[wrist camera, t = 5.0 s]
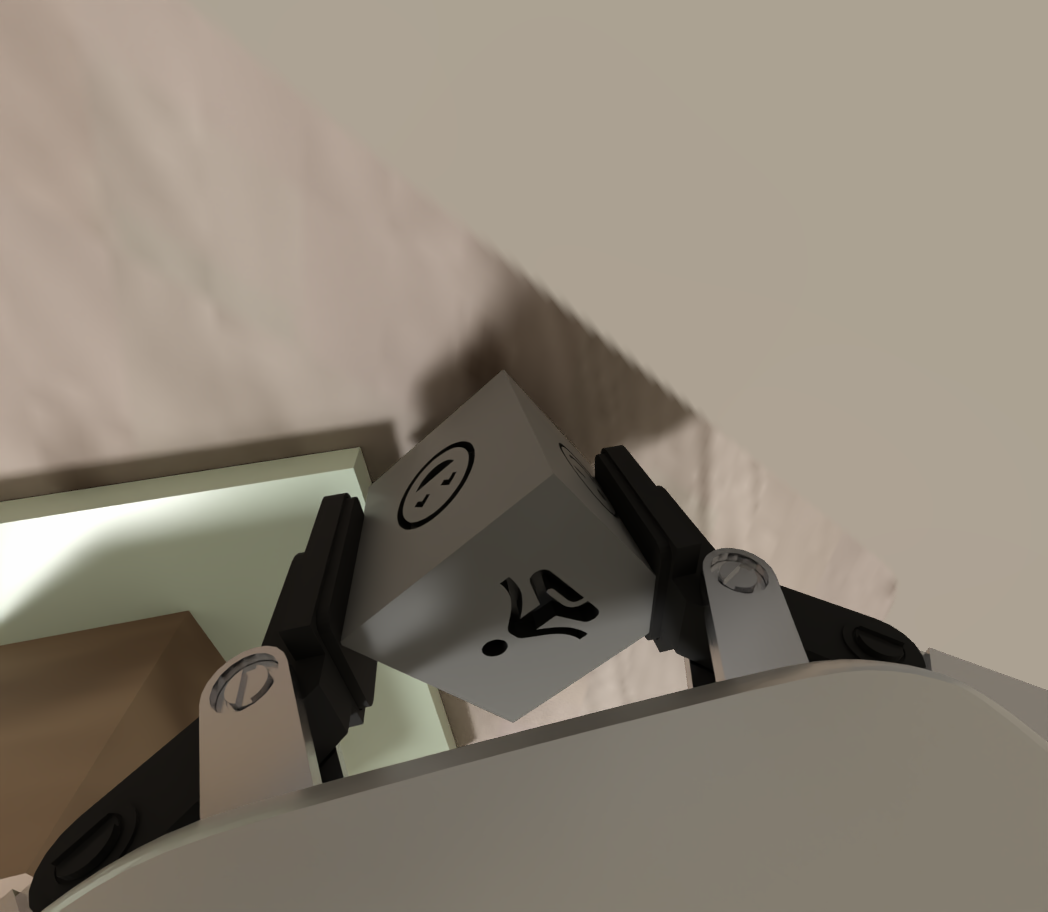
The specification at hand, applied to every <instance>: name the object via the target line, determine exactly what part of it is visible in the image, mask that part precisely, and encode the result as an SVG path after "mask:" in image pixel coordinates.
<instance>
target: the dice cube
mask: <svg viewBox="0 0 1048 912" xmlns="http://www.w3.org/2000/svg"><path fill="white" fill-rule="evenodd" d="M364 515H365V516H364V521H363V527H362V532H361V537H360V542H359V547H358V553H357V558H356V563H355V568H354V573H353V579H352V584H351V589H350V594H349V599H348V605H347V610H346V615H345V620H344V625H343V631H342V636H341V641H340V642H341V644H342V645H343V646H345V647H347V648H349V649H352V650H354V651H356V652H358V653H360V654H363V655H365V656H367V657H369V658H371V659H374V660H376V661H378V662H380V663H382V664H385V665H387V666H389V667H391V668H393V669H396V670H398V671H400V672H402V673H405V674H407V675H409V676H411V677H413V678H416V679H418V680H420V681H422V682H424V683H427V684H429V685H431V686H433V687H435V688H438V689H440V690H442V691H444V692H447V693H449V694H451V695H453V696H455V697H458V698H460V699H462V700H464V701H466V702H469V703H471V704H473V705H475V706H477V707H480V708H482V709H484V710H486V711H488V712H491V713H493V714H495V715H497V716H500V717H502V718H504V719H506V720H508V721H511V722H513V723H514V722H515V721H517V720H518V719H520V718H521V717H523V716H524V715H526V714H527V713H529V712H530V711H532V710H533V709H535V708H536V707H538V706H539V705H541V704H542V703H544V702H545V701H547V700H548V699H550V698H551V697H553V696H554V695H556V694H557V693H559V692H560V691H562V690H563V689H565V688H566V687H568V686H570V685H571V684H573V683H574V682H576V681H577V680H579V679H580V678H582V677H583V676H585V675H586V674H588V673H589V672H591V671H592V670H594V669H595V668H597V667H598V666H600V665H601V664H603V663H604V662H606V661H607V660H609V659H610V658H612V657H613V656H615V655H616V654H618V653H619V652H621V651H622V650H624V649H625V648H627V647H629V646H630V645H632V644H633V643H635V642H636V641H638V640H639V639H641V638H642V637H644V636H645V635H647V634H648V633H649V628H650V620H651V612H652V604H653V596H654V588H655V580H656V575H655V574H654V572H653V570H652V569H651V567H650V566H649V564H648V562H647V561H646V559H645V558H644V556H643V554H642V553H641V551H640V549H639V548H638V546H637V545H636V543H635V541H634V540H633V538H632V537H631V535H630V533H629V532H628V530H627V529H626V527H625V525H624V524H623V522H622V521H621V519H620V517H619V516H618V515H617V514H616V513H615V510H614V508H613V506H612V505H611V503H610V502H609V500H608V498H607V497H606V496H605V493H604V492H603V490H602V488H601V487H600V485H599V484H598V482H597V480H596V479H595V469H594V468H593V467H592V466H591V465H590V464H589V463H588V462H587V461H586V460H585V458H584V457H583V456H582V455H581V454H580V453H579V452H578V451H577V450H576V448H575V447H574V446H573V445H572V444H571V443H570V442H569V441H568V440H567V439H566V437H565V436H564V435H563V434H562V433H561V432H560V431H559V430H558V429H557V428H556V426H555V425H554V424H553V423H552V422H551V421H550V420H549V419H548V418H547V416H546V415H545V414H544V413H543V412H542V411H541V410H540V409H539V408H538V407H537V405H536V404H535V403H534V402H533V401H532V400H531V399H530V398H529V397H528V396H527V394H526V393H525V392H524V391H523V390H522V389H521V388H520V387H519V386H518V385H517V383H516V382H515V381H514V380H513V379H512V378H511V377H510V376H509V375H508V373H507V372H506V371H505V370H504V369H503V370H502V371H501V372H499V373H498V374H497V375H496V376H495V377H494V378H493V379H491V380H490V381H489V382H488V383H487V384H486V385H485V386H483V387H482V388H481V389H480V390H479V391H478V392H477V393H475V394H474V395H473V396H472V397H471V398H470V399H469V400H467V401H466V402H465V403H464V404H463V405H462V406H461V407H459V408H458V409H457V410H456V411H455V412H454V413H453V414H451V415H450V416H449V417H448V418H447V419H446V420H445V421H443V422H442V423H441V424H440V425H439V426H438V427H437V428H435V429H434V430H433V431H432V432H431V433H430V434H429V435H427V436H426V437H425V438H424V439H423V440H422V441H421V442H419V443H418V444H417V445H416V446H415V447H414V448H413V449H411V450H410V451H409V452H408V453H407V454H406V455H405V456H403V457H402V458H401V459H400V460H399V461H398V462H397V463H395V464H394V465H393V466H392V467H391V468H390V469H389V470H387V471H386V472H385V473H384V474H383V475H382V476H381V477H379V478H378V479H377V480H376V481H375V482H374V483H373V484H372V485H370V486H369V488H368V493H367V498H366V504H365V509H364Z"/></svg>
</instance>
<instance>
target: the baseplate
mask: <svg viewBox="0 0 1048 912" xmlns="http://www.w3.org/2000/svg"><path fill="white" fill-rule="evenodd" d="M370 485H372V482H371V479H370V476H369V473H368V470H367V467H366V464H365V461H364V457H363V454H362V451H361V448H360V447H357V448H350V449H344V450H337V451H331V452H324V453H317V454H311V455H304V456H298V457H291V458H285V459H278V460H272V461H265V462H259V463H252V464H245V465H239V466H232V467H226V468H219V469H213V470H206V471H200V472H193V473H187V474H180V475H174V476H167V477H160V478H154V479H147V480H141V481H134V482H128V483H121V484H115V485H108V486H102V487H95V488H88V489H82V490H75V491H69V492H62V493H56V494H49V495H43V496H36V497H30V498H23V499H17V500H10V501H3V502H0V646H1V645H6V644H12V643H17V642H22V641H28V640H33V639H39V638H44V637H49V636H55V635H60V634H65V633H71V632H76V631H81V630H87V629H92V628H98V627H103V626H108V625H114V624H119V623H124V622H130V621H135V620H140V619H146V618H151V617H157V616H162V615H167V614H173V613H178V612H183V611H190V613H191V614H192V616H193V617H194V618H195V620H196V621H197V622H198V624H199V625H200V627H201V628H202V629H203V631H204V632H205V634H206V635H207V636H208V638H209V639H210V640H211V642H212V643H213V645H214V646H215V647H216V649H217V650H218V651H219V653H220V654H221V656H222V657H223V658H224V660H225V661H226V662H228V661H229V660H230V659H232V658H234V657H235V656H237V655H238V654H240V653H242V652H244V651H247V650H249V649H252V648H255V647H261V645H262V642H263V640H264V637H265V634H266V631H267V629H268V626H269V623H270V620H271V618H272V615H273V612H274V609H275V607H276V604H277V601H278V598H279V596H280V593H281V590H282V587H283V585H284V582H285V579H286V576H287V574H288V571H289V568H290V565H291V563H292V560H293V558H294V556H295V555H296V554H298V553H302V552H305V549H306V546H307V543H308V540H309V537H310V534H311V531H312V529H313V526H314V523H315V520H316V517H317V514H318V511H319V508H320V505H321V502H322V499H323V497H325V496H330V495H336V494H341V493H349V495H350V496H351V497H358V499H359V501H360V504H361V507H362V510H363V512H364V509H365V504H366V498H367V493H368V488H369V486H370ZM339 743H340V747H341V750H342V754H343V758H344V761H345V765H346V769H347V772H348V776H352V775H356V774H359V773H363V772H367V771H371V770H375V769H379V768H382V767H386V766H390V765H394V764H398V763H401V762H405V761H409V760H413V759H417V758H421V757H424V756H428V755H432V754H436V753H440V752H444V751H447V750H451V749H455V748H457V747H456V743H455V740H454V737H453V734H452V731H451V728H450V725H449V722H448V719H447V715H446V712H445V709H444V706H443V703H442V700H441V697H440V694H439V691H438V688H435V687H433V686H431V685H429V684H427V683H424V682H422V681H420V680H418V679H416V678H413V677H411V676H409V675H407V674H405V673H402V672H400V671H398V670H396V669H393V668H391V667H389V666H387V665H385V664H382V663H380V662H377V672H376V682H375V692H374V701H373V704H372V706H370V707H366V708H365V715H364V724H362V725H358V726H353V727H349V729H348V733H347V735H346V736H345V737H344V738H343V739H342V740H341V741H340V742H339Z"/></svg>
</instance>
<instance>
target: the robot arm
mask: <svg viewBox="0 0 1048 912" xmlns="http://www.w3.org/2000/svg"><path fill="white" fill-rule="evenodd" d="M595 479H596V480H597V482H598V484H599V485H600V487H601V488H602V490H603V492H604V493H605V496H606V497H607V498H608V500H609V502H610V503H611V505H612V506H613V508H614V510H615V513H616V514H617V515H618V516H619V517H620V519H621V521H622V522H623V524H624V525H625V527H626V529H627V530H628V532H629V533H630V535H631V537H632V538H633V540H634V541H635V543H636V545H637V546H638V548H639V549H640V551H641V553H642V554H643V556H644V558H645V559H646V561H647V562H648V564H649V566H650V567H651V569H652V570H653V572H654V574H655V575H656V580H655V588H654V596H653V604H652V612H651V620H650V628H649V633H648V634H647V635H645V638H646V639H647V640H654V642H655V644H656V646H657V648H658V650H659V652H663V651H668V650H672V649H674V650H675V652H676V653H677V654H679V655H681V656H684V662H685V670H686V678H687V686H688V689H687V690H683V691H679V692H675V693H671V694H667V695H663V696H659V697H655V698H651V699H647V700H643V701H639V702H635V703H631V704H627V705H623V706H619V707H615V708H611V709H607V710H603V711H599V712H595V713H591V714H588V715H584V716H580V717H576V718H572V719H568V720H564V721H560V722H556V723H552V724H548V725H544V726H540V727H537V728H533V729H529V730H525V731H521V732H517V733H513V734H509V735H505V736H502V737H498V738H494V739H490V740H486V741H482V742H478V743H474V744H470V745H467V746H463V747H459V748H455V749H451V750H447V751H444V752H440V753H436V754H432V755H428V756H424V757H421V758H417V759H413V760H409V761H405V762H401V763H398V764H394V765H390V766H386V767H382V768H379V769H375V770H371V771H367V772H363V773H359V774H356V775H352V776H348V772H347V769H346V765H345V761H344V758H343V754H342V750H341V747H340V743H339V742H340V741H341V740H342V739H343V738H344V737H345V736H346V735H347V733H348V729H349V727H353V726H358V725H362V724H364V715H365V708H366V707H370V706H372V704H373V701H374V692H375V682H376V672H377V662H378V661H376V660H374V659H371V658H369V657H367V656H365V655H363V654H360V653H358V652H356V651H354V650H352V649H349V648H347V647H345V646H343V645H342V644H341V642H340V641H341V636H342V631H343V625H344V620H345V615H346V610H347V605H348V599H349V594H350V589H351V584H352V579H353V573H354V568H355V563H356V558H357V553H358V547H359V542H360V537H361V532H362V527H363V521H364V516H365V515H364V512H363V510H362V507H361V504H360V501H359V499H358V497H351V496H350V495H349V493H341V494H336V495H330V496H325V497H323V499H322V502H321V505H320V508H319V511H318V514H317V517H316V520H315V523H314V526H313V529H312V531H311V534H310V537H309V540H308V543H307V546H306V549H305V552H302V553H298V554H296V555H295V556H294V558H293V560H292V563H291V565H290V568H289V571H288V574H287V576H286V579H285V582H284V585H283V587H282V590H281V593H280V596H279V598H278V601H277V604H276V607H275V609H274V612H273V615H272V618H271V620H270V623H269V626H268V629H267V631H266V634H265V637H264V640H263V642H262V645H261V647H255V648H252V649H249V650H247V651H244V652H242V653H240V654H238V655H237V656H235V657H234V658H232V659H230V660H229V661H228V662H226V663H225V664H224V665H223V666H222V667H221V668H219V669H218V670H217V671H216V672H215V674H214V675H213V676H212V677H211V679H210V680H209V681H208V682H207V684H206V686H205V688H204V690H203V692H202V694H201V698H200V704H199V717H198V718H197V719H196V720H194V721H193V722H192V723H191V724H190V725H189V726H187V727H186V728H185V729H184V730H183V731H181V732H180V733H179V734H178V735H177V736H175V737H174V738H173V739H172V740H171V741H169V742H168V743H167V744H166V745H165V746H163V747H162V748H161V749H160V750H159V751H157V752H156V753H155V754H154V755H153V756H151V757H150V758H149V759H148V760H147V761H145V762H144V763H143V764H142V765H141V766H139V767H138V768H137V769H136V770H135V771H133V772H132V773H131V774H130V775H129V776H128V777H126V778H125V779H124V780H123V781H122V782H120V783H119V784H118V785H117V786H116V787H114V788H113V789H112V790H111V791H110V792H108V793H107V794H106V795H105V796H104V797H102V798H101V799H100V800H99V801H98V802H96V803H95V804H94V805H93V806H92V807H90V808H89V809H88V810H87V811H86V812H84V813H83V814H82V815H81V816H80V817H79V818H77V819H76V820H75V821H74V822H73V823H72V824H71V825H70V826H69V827H68V828H67V829H66V830H65V831H64V832H63V833H62V834H61V835H60V836H59V838H58V839H57V840H56V841H55V843H54V844H53V845H52V846H51V848H50V849H49V850H48V851H47V853H46V854H45V856H44V858H43V859H42V861H41V863H40V865H39V866H38V868H37V870H36V871H35V873H34V876H33V880H32V882H31V883H30V884H29V885H28V886H27V887H26V888H25V889H23V890H22V891H21V892H18V891H16V890H14V889H11V890H10V891H9V892H8V893H7V894H6V895H4V896H3V897H2V898H1V899H0V912H1048V690H1045V689H1042V688H1040V687H1037V686H1034V685H1031V684H1029V683H1026V682H1023V681H1020V680H1018V679H1015V678H1012V677H1009V676H1006V675H1004V674H1001V673H998V672H995V671H992V670H990V669H987V668H984V667H982V666H979V665H976V664H973V663H971V662H968V661H965V660H962V659H959V658H957V657H954V656H951V655H948V654H946V653H943V652H940V651H937V650H935V649H932V648H928V650H927V651H926V652H922V651H920V650H919V649H918V648H917V647H916V645H915V644H914V643H913V642H912V641H911V640H910V639H909V638H907V637H906V636H905V635H904V634H903V633H901V632H900V631H898V630H897V629H895V628H894V627H892V626H890V625H889V624H886V623H884V622H882V621H880V620H877V619H875V618H872V617H869V616H866V615H863V614H861V613H858V612H855V611H852V610H849V609H846V608H843V607H841V606H838V605H835V604H832V603H829V602H826V601H823V600H821V599H818V598H815V597H812V596H809V595H806V594H803V593H801V592H798V591H795V590H792V589H789V588H786V587H783V586H781V585H779V582H778V579H777V577H776V575H775V573H774V571H773V570H772V568H771V567H770V566H769V565H768V564H767V563H766V562H765V561H764V560H762V559H761V558H759V557H758V556H756V555H754V554H752V553H749V552H747V551H744V550H740V549H734V548H721V549H717V550H715V549H714V548H713V546H712V545H711V544H710V543H709V542H708V540H707V539H706V538H705V537H704V536H703V534H702V533H701V532H700V531H699V530H698V528H697V527H696V526H695V525H694V523H693V522H692V521H691V520H690V519H689V517H688V516H687V515H686V514H685V513H684V511H683V510H682V509H681V508H680V507H679V505H678V504H677V503H676V502H675V500H674V499H673V498H672V497H671V496H670V494H669V493H668V492H667V491H666V490H665V489H664V488H663V487H662V486H656V485H655V484H654V483H653V482H652V480H651V479H650V478H649V477H648V475H647V474H646V473H645V472H644V470H643V469H642V468H641V467H640V465H639V464H638V463H637V462H636V460H635V459H634V458H633V457H632V455H631V454H630V453H629V452H628V450H627V449H626V448H625V447H624V446H623V445H620V446H614V447H608V448H603V449H602V450H601V454H598V455H596V457H595Z"/></svg>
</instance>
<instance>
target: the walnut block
mask: <svg viewBox="0 0 1048 912" xmlns="http://www.w3.org/2000/svg"><path fill="white" fill-rule="evenodd" d="M225 663H226V661H225V660H224V658H223V657H222V656H221V654H220V653H219V651H218V650H217V649H216V647H215V646H214V645H213V643H212V642H211V640H210V639H209V638H208V636H207V635H206V634H205V632H204V631H203V629H202V628H201V627H200V625H199V624H198V622H197V621H196V620H195V618H194V617H193V616H192V614H191V613H190V611H183V612H178V613H173V614H167V615H162V616H157V617H151V618H146V619H140V620H135V621H130V622H124V623H119V624H114V625H108V626H103V627H98V628H92V629H87V630H81V631H76V632H71V633H65V634H60V635H55V636H49V637H44V638H39V639H33V640H28V641H22V642H17V643H12V644H6V645H1V646H0V899H1V898H2V897H3V896H4V895H6V894H7V893H8V892H9V891H10V890H11V889H14V890H16V891H18V892H21V891H22V890H23V889H25V888H26V887H27V886H28V885H29V884H30V883H31V882H32V880H33V876H34V873H35V871H36V870H37V868H38V866H39V865H40V863H41V861H42V859H43V858H44V856H45V854H46V853H47V851H48V850H49V849H50V848H51V846H52V845H53V844H54V843H55V841H56V840H57V839H58V838H59V836H60V835H61V834H62V833H63V832H64V831H65V830H66V829H67V828H68V827H69V826H70V825H71V824H72V823H73V822H74V821H75V820H76V819H77V818H79V817H80V816H81V815H82V814H83V813H84V812H86V811H87V810H88V809H89V808H90V807H92V806H93V805H94V804H95V803H96V802H98V801H99V800H100V799H101V798H102V797H104V796H105V795H106V794H107V793H108V792H110V791H111V790H112V789H113V788H114V787H116V786H117V785H118V784H119V783H120V782H122V781H123V780H124V779H125V778H126V777H128V776H129V775H130V774H131V773H132V772H133V771H135V770H136V769H137V768H138V767H139V766H141V765H142V764H143V763H144V762H145V761H147V760H148V759H149V758H150V757H151V756H153V755H154V754H155V753H156V752H157V751H159V750H160V749H161V748H162V747H163V746H165V745H166V744H167V743H168V742H169V741H171V740H172V739H173V738H174V737H175V736H177V735H178V734H179V733H180V732H181V731H183V730H184V729H185V728H186V727H187V726H189V725H190V724H191V723H192V722H193V721H194V720H196V719H197V718H198V717H199V704H200V698H201V694H202V692H203V690H204V688H205V686H206V684H207V682H208V681H209V680H210V679H211V677H212V676H213V675H214V674H215V672H216V671H217V670H218V669H219V668H221V667H222V666H223V665H224V664H225Z"/></svg>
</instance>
